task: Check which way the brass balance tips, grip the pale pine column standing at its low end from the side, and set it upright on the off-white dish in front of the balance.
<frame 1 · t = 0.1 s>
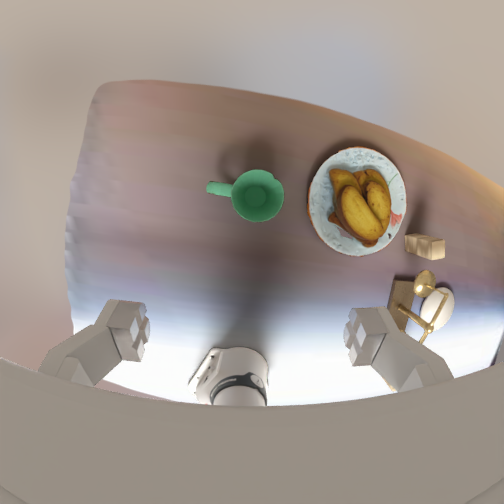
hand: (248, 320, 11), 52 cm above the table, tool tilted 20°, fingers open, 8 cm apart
dish: (435, 308, 68), on the table
column 2: (411, 241, 64), on the table
balance: (398, 305, 67), on the table
mug: (244, 194, 61), on the table
food on plate: (357, 201, 62), on the table
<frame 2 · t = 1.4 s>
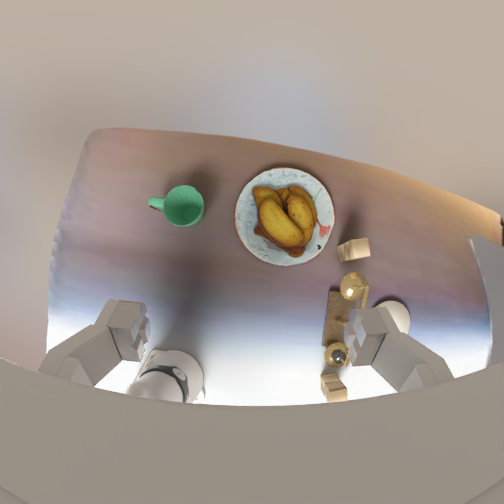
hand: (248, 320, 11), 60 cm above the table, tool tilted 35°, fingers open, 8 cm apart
dish: (387, 324, 68), on the table
column 1: (328, 381, 67), on the table
column 2: (345, 253, 70), on the table
balance: (338, 319, 69), on the table
mug: (184, 213, 74), on the table
food on plate: (284, 217, 73), on the table
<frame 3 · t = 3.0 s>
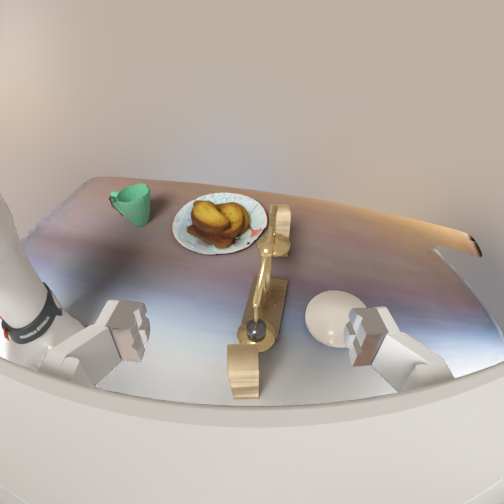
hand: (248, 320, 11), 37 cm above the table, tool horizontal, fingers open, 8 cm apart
dish: (337, 320, 53), on the table
column 1: (246, 387, 43), on the table
column 2: (277, 251, 68), on the table
balance: (265, 308, 55), on the table
mug: (135, 221, 79), on the table
food on plate: (219, 226, 76), on the table
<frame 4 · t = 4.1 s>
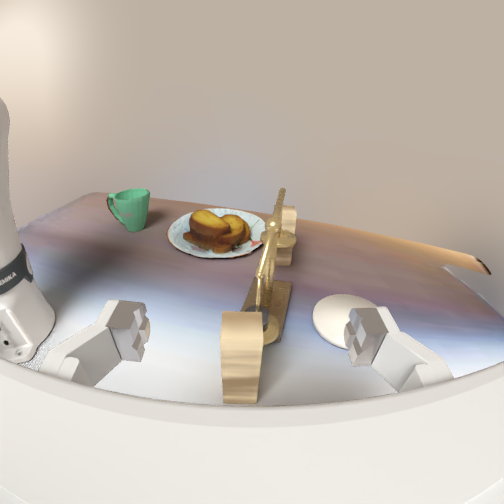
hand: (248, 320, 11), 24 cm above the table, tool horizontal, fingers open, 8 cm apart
dish: (349, 324, 44), on the table
column 1: (240, 390, 33), on the table
column 2: (280, 260, 62), on the table
balance: (265, 309, 47), on the table
mug: (129, 227, 74), on the table
food on plate: (218, 238, 72), on the table
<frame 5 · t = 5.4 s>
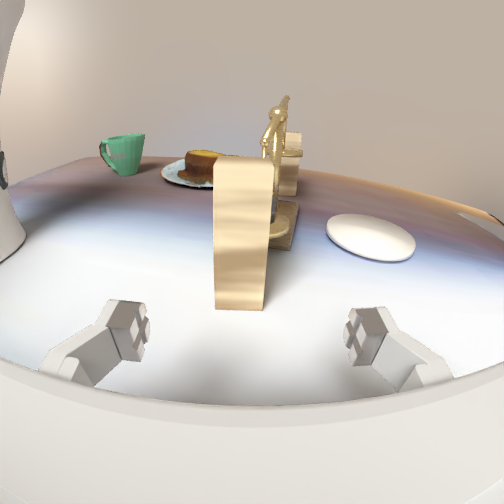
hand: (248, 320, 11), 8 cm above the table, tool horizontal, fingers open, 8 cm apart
dish: (370, 241, 37), on the table
column 1: (239, 295, 26), on the table
column 2: (284, 192, 55), on the table
balance: (270, 224, 40), on the table
mug: (121, 174, 67), on the table
food on plate: (215, 178, 64), on the table
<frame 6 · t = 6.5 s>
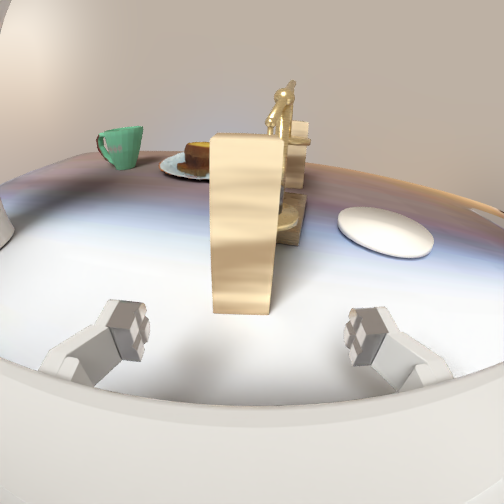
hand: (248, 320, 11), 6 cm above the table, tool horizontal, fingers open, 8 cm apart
dish: (384, 236, 33), on the table
column 1: (241, 297, 22), on the table
column 2: (289, 185, 51), on the table
balance: (275, 217, 37), on the table
mug: (118, 168, 64), on the table
food on plate: (217, 171, 61), on the table
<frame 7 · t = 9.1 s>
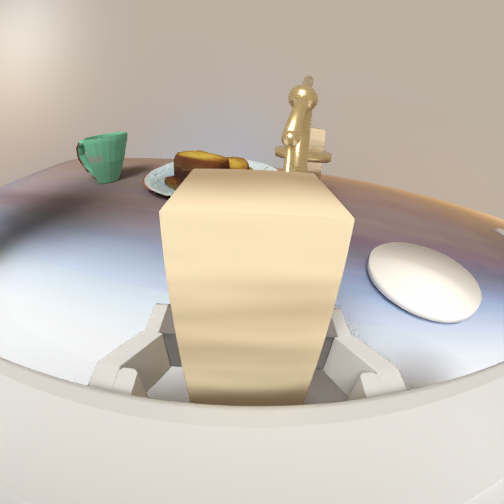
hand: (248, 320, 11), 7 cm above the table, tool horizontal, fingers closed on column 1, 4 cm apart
dish: (423, 285, 25), on the table
column 1: (243, 418, 13), on the table, touching gripper
column 2: (300, 206, 42), on the table
balance: (287, 261, 28), on the table
mug: (101, 180, 55), on the table
food on plate: (212, 186, 52), on the table
when the fingers open (9 cm above the table, at t = 16.4 s): column 1 drops 1 cm, resting on dish.
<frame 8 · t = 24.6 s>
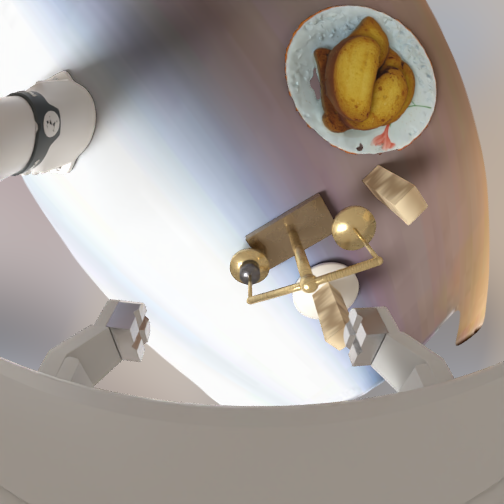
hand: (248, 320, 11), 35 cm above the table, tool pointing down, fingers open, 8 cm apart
dish: (325, 289, 54), on the table
column 1: (326, 294, 52), point 1 cm above the table, touching dish
column 2: (376, 181, 43), on the table
balance: (292, 230, 48), on the table
food on plate: (363, 78, 35), on the table
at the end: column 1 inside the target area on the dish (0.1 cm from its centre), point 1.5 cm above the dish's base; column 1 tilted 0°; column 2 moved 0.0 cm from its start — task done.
